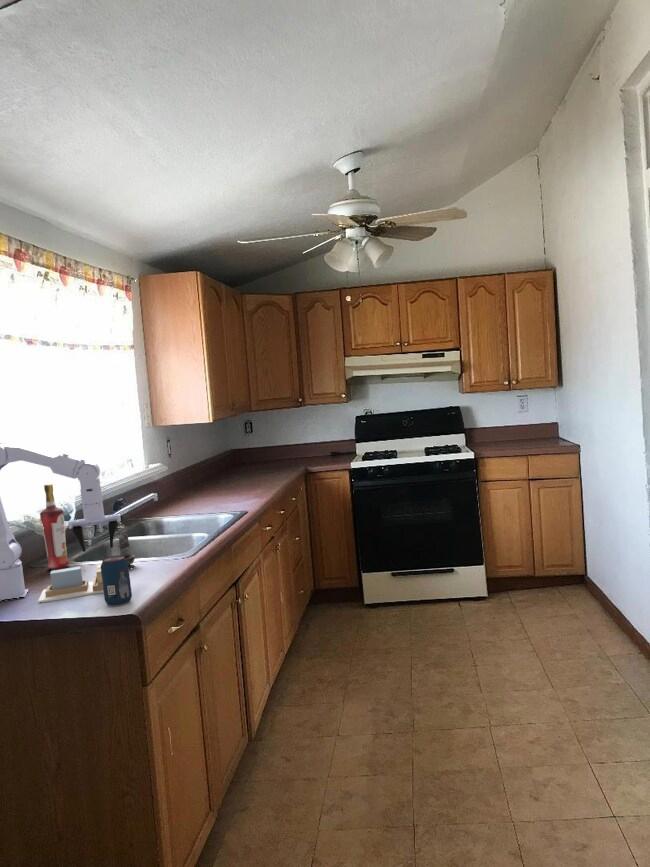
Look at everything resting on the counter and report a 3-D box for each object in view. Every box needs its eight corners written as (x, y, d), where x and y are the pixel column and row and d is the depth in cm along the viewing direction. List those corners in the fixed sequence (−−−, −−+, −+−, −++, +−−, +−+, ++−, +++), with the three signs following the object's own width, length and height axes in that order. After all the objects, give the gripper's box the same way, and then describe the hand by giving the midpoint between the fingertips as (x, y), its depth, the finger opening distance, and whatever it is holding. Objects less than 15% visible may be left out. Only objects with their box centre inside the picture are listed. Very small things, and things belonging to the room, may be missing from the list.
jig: (38, 603, 195) (37, 595, 195) (43, 591, 207) (42, 584, 207) (117, 590, 201) (116, 582, 200) (118, 579, 213) (117, 572, 213)
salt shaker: (129, 564, 231) (124, 528, 230) (140, 566, 227) (135, 529, 226) (113, 569, 226) (109, 532, 225) (124, 571, 222) (120, 533, 222)
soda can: (112, 599, 191) (107, 555, 191) (136, 598, 190) (131, 554, 190) (100, 607, 185) (94, 562, 184) (125, 606, 183) (120, 560, 183)
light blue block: (52, 594, 200) (50, 573, 200) (54, 591, 204) (51, 570, 203) (82, 589, 202) (80, 569, 202) (83, 586, 206) (80, 566, 205)
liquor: (56, 565, 241) (46, 483, 239) (75, 564, 239) (64, 482, 237) (42, 571, 234) (31, 487, 232) (61, 570, 232) (50, 485, 230)
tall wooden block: (99, 581, 209) (97, 565, 209) (111, 579, 210) (109, 563, 210) (98, 589, 201) (96, 572, 200) (111, 587, 202) (109, 570, 201)
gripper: (65, 508, 202) (71, 555, 203) (118, 501, 206) (123, 547, 207) (67, 505, 209) (72, 550, 210) (118, 498, 212) (123, 543, 213)
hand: (98, 549), depth 209 cm, fingers open, 7 cm apart
